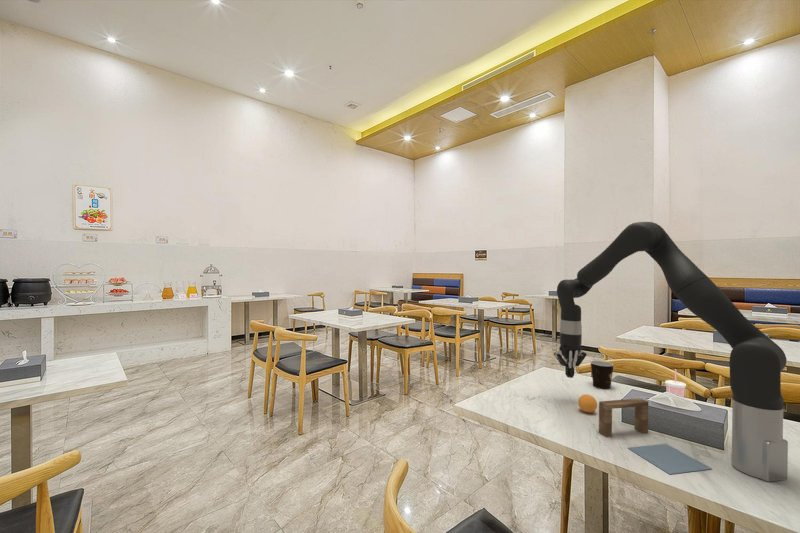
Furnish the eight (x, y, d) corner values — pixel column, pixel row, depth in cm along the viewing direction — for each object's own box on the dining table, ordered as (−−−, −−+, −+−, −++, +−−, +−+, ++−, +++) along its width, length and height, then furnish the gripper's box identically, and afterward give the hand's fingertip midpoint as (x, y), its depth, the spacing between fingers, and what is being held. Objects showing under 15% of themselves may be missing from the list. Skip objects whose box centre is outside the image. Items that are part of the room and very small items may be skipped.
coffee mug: (601, 382, 160) (601, 360, 160) (618, 388, 152) (618, 365, 152) (580, 385, 156) (580, 362, 156) (596, 391, 148) (597, 367, 148)
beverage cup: (690, 409, 130) (690, 371, 130) (675, 411, 129) (676, 372, 129) (674, 403, 136) (675, 366, 136) (660, 404, 135) (661, 367, 135)
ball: (601, 414, 126) (601, 397, 126) (585, 416, 124) (586, 398, 124) (589, 407, 131) (589, 391, 131) (574, 409, 130) (574, 392, 130)
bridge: (648, 432, 112) (648, 401, 112) (606, 437, 109) (606, 405, 109) (639, 428, 115) (640, 398, 115) (598, 432, 112) (599, 401, 112)
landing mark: (712, 469, 92) (712, 468, 92) (669, 474, 90) (669, 473, 90) (665, 444, 105) (665, 443, 105) (627, 448, 103) (627, 447, 103)
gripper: (561, 334, 132) (560, 381, 132) (592, 333, 135) (592, 379, 135) (549, 330, 139) (548, 374, 140) (579, 329, 142) (578, 373, 142)
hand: (569, 377), depth 137 cm, fingers closed
